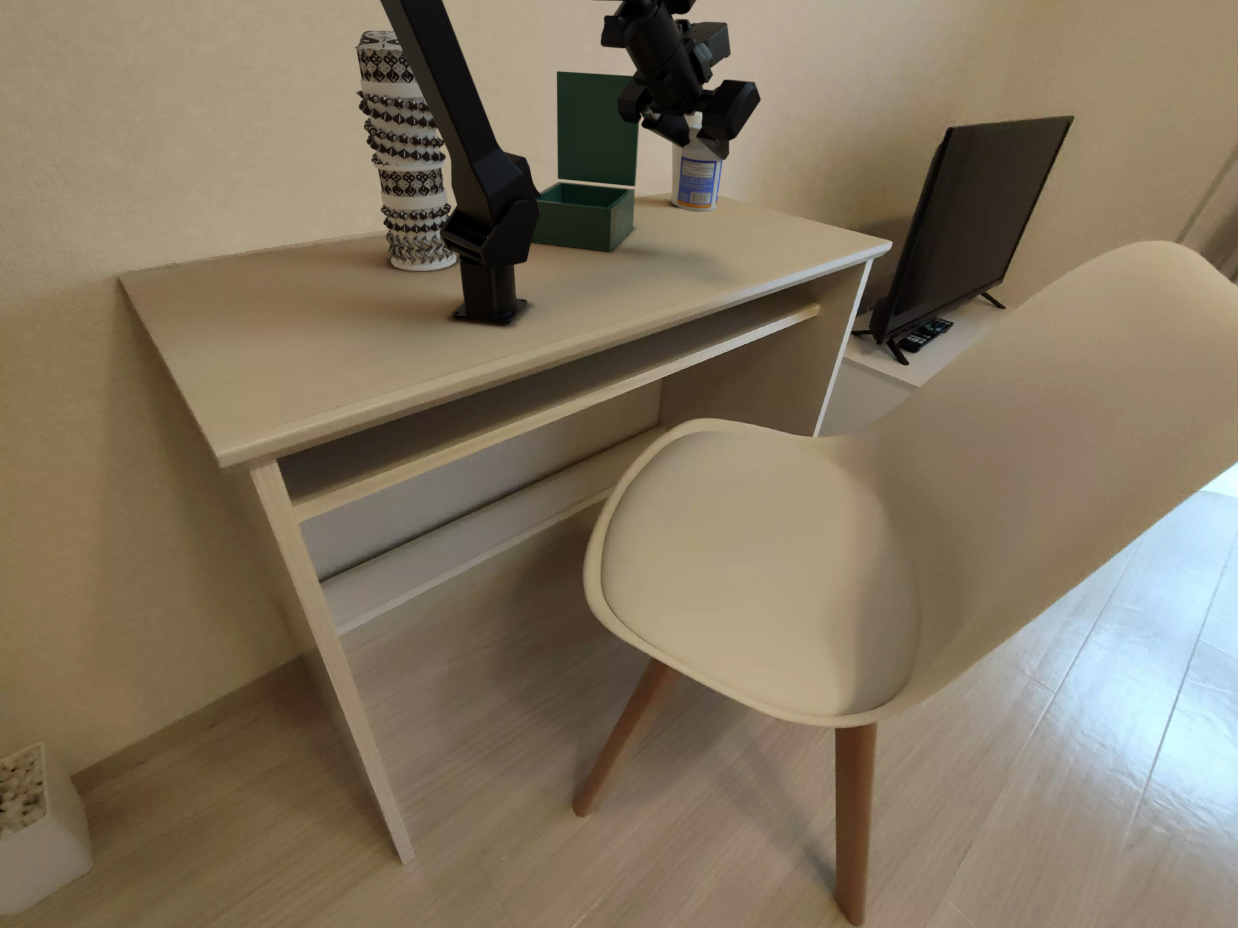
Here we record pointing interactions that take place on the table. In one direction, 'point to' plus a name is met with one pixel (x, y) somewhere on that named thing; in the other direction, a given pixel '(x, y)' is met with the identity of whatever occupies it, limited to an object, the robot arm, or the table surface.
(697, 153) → the pill bottle
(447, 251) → the black and white cylinder
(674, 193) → the white tumbler
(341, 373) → the table surface
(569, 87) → the green box lid
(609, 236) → the green open box
